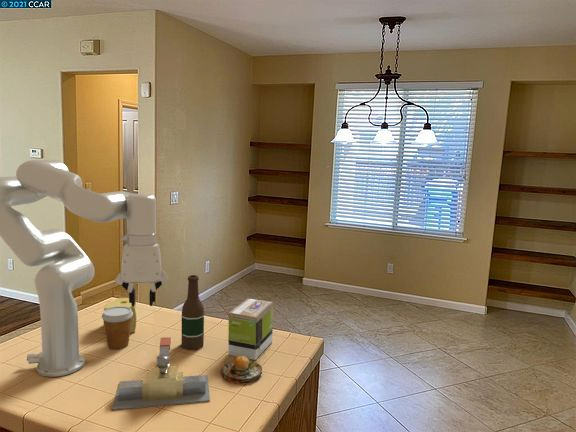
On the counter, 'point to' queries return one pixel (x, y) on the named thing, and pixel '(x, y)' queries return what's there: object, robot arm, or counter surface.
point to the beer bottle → (192, 317)
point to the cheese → (125, 303)
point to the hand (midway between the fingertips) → (142, 304)
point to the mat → (146, 403)
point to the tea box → (250, 328)
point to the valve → (162, 385)
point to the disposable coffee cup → (117, 326)
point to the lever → (164, 353)
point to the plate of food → (242, 371)
